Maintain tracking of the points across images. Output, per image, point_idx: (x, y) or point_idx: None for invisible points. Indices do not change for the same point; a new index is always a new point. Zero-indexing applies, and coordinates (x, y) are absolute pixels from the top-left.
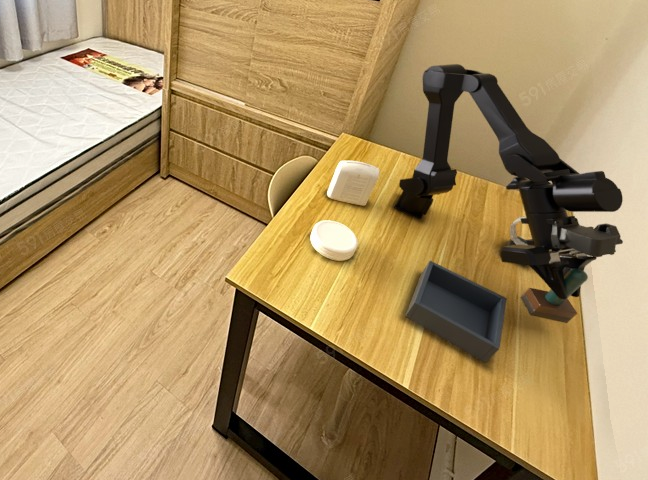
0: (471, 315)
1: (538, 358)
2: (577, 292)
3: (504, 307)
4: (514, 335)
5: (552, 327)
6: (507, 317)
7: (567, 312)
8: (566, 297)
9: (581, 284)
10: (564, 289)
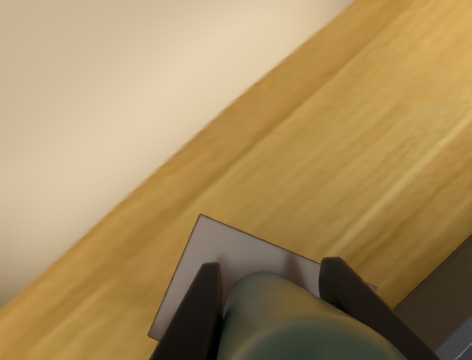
0: (468, 347)
1: (330, 168)
2: (217, 284)
3: (459, 333)
4: (345, 251)
5: (171, 260)
6: None
7: (241, 231)
8: (331, 263)
9: (295, 300)
10: (372, 312)
